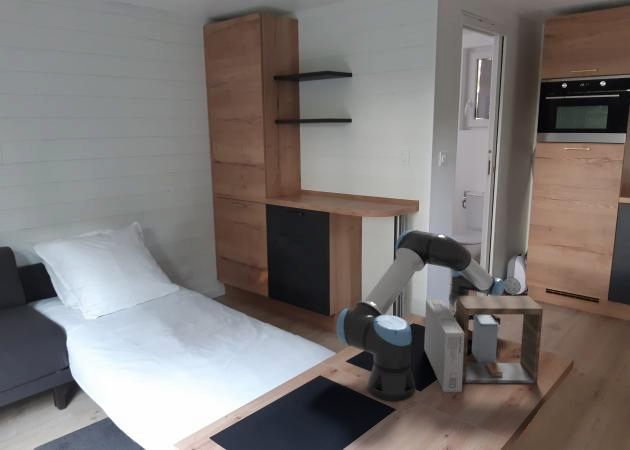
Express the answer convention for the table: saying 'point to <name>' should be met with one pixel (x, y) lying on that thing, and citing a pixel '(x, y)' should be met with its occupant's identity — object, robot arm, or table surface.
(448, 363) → the packaging
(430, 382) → the table surface
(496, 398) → the table surface
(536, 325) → the walnut shelf
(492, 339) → the tall grey lidded box
